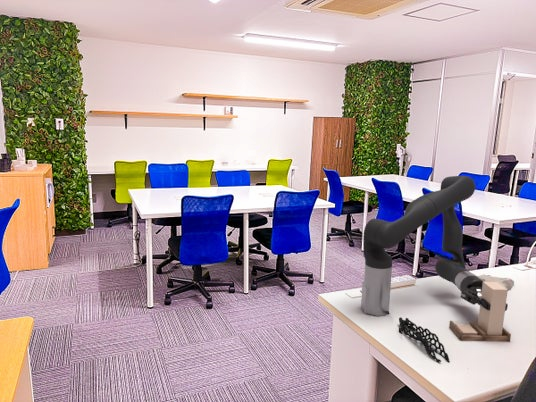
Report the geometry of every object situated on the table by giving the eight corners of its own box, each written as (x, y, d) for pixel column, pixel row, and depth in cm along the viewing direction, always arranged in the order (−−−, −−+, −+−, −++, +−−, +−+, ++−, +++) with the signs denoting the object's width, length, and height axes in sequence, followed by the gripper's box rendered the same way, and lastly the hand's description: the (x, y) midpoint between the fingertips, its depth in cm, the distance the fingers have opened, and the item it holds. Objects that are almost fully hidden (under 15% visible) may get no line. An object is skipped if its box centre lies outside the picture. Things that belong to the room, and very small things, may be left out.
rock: (463, 289, 165) (504, 297, 154) (464, 278, 165) (504, 285, 154) (481, 280, 180) (520, 286, 169) (482, 270, 179) (520, 276, 169)
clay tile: (462, 338, 123) (463, 332, 123) (454, 329, 129) (455, 323, 129) (477, 338, 123) (477, 332, 123) (468, 329, 129) (469, 324, 128)
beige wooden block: (487, 335, 123) (493, 289, 120) (477, 325, 129) (482, 281, 126) (501, 335, 123) (507, 289, 120) (491, 325, 129) (496, 281, 126)
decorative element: (452, 366, 111) (454, 347, 110) (436, 369, 110) (438, 349, 109) (406, 327, 132) (407, 311, 131) (392, 329, 131) (394, 312, 130)
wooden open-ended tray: (459, 344, 122) (461, 333, 121) (448, 331, 130) (449, 320, 129) (509, 345, 122) (510, 334, 121) (495, 331, 130) (496, 321, 129)
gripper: (450, 274, 138) (475, 295, 121) (492, 275, 137) (523, 296, 121) (448, 295, 139) (472, 318, 122) (490, 295, 139) (519, 319, 122)
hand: (497, 307), depth 121 cm, fingers closed on beige wooden block, 4 cm apart
